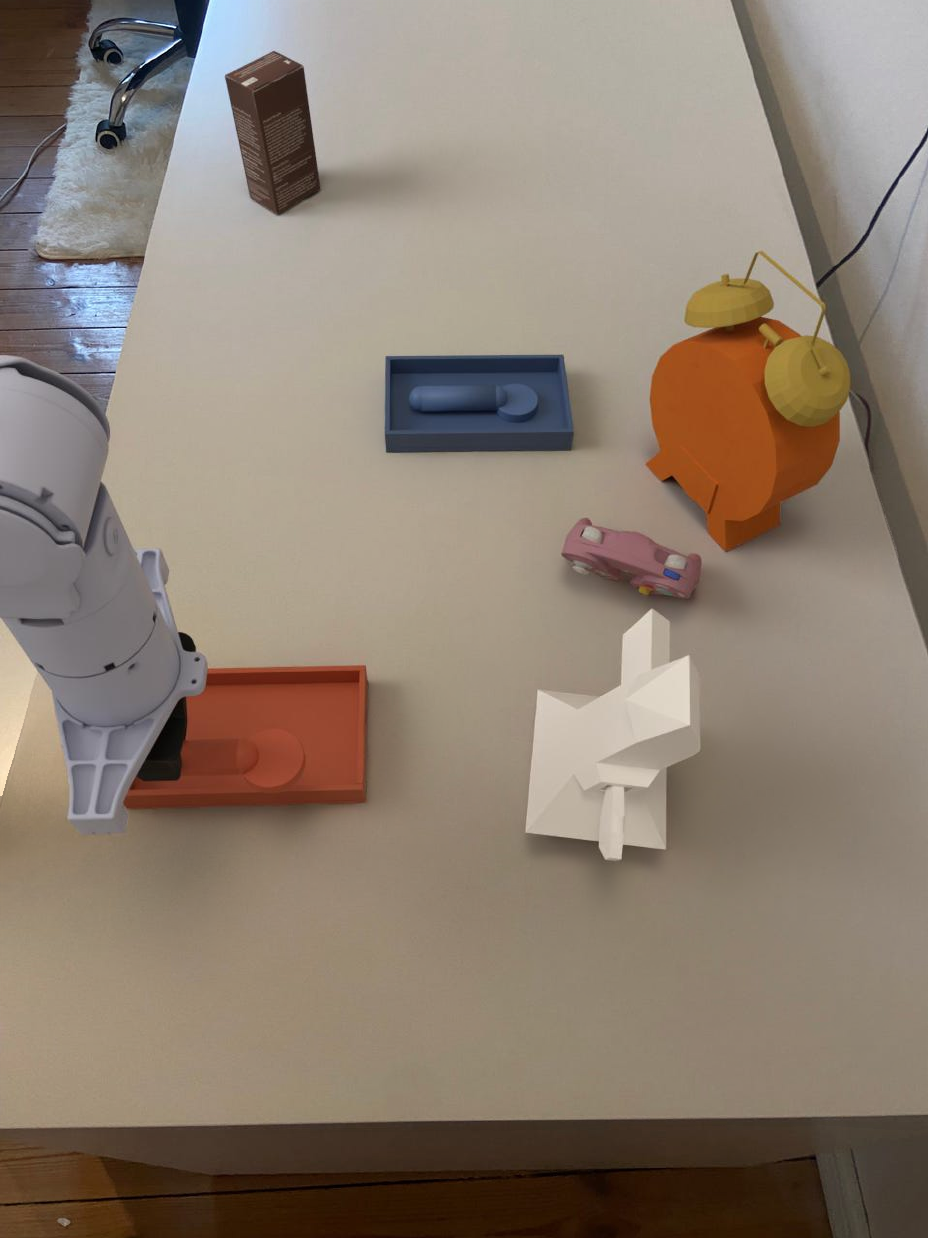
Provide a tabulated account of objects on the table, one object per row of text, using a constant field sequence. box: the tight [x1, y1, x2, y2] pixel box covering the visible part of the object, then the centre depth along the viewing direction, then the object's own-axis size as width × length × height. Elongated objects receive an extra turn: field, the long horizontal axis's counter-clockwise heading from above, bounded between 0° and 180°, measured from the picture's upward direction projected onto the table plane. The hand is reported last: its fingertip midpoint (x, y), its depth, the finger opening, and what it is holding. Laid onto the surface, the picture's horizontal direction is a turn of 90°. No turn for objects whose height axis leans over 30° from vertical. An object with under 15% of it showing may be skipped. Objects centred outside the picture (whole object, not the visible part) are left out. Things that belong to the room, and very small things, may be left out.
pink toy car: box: [560, 517, 703, 599], centre depth 68 cm, size 10×5×7 cm, turn 68°
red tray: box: [123, 664, 369, 810], centre depth 62 cm, size 15×9×2 cm, turn 92°
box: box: [224, 50, 321, 215], centre depth 90 cm, size 6×4×12 cm
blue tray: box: [384, 354, 575, 453], centre depth 78 cm, size 15×9×2 cm, turn 92°
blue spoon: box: [409, 384, 538, 422], centre depth 78 cm, size 10×4×2 cm, turn 92°
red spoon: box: [180, 728, 306, 793], centre depth 53 cm, size 10×4×2 cm, turn 92°
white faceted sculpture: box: [525, 608, 701, 862], centre depth 56 cm, size 8×14×14 cm, turn 173°
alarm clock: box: [645, 250, 851, 553], centre depth 67 cm, size 13×6×20 cm, turn 31°
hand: (164, 755), depth 53 cm, fingers closed on red spoon, 2 cm apart
